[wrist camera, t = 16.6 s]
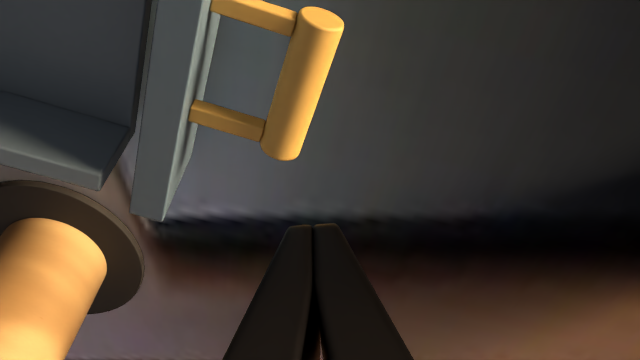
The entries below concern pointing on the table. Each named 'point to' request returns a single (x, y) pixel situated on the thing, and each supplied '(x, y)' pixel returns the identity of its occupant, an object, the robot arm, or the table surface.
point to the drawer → (125, 83)
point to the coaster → (91, 219)
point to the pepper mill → (45, 287)
